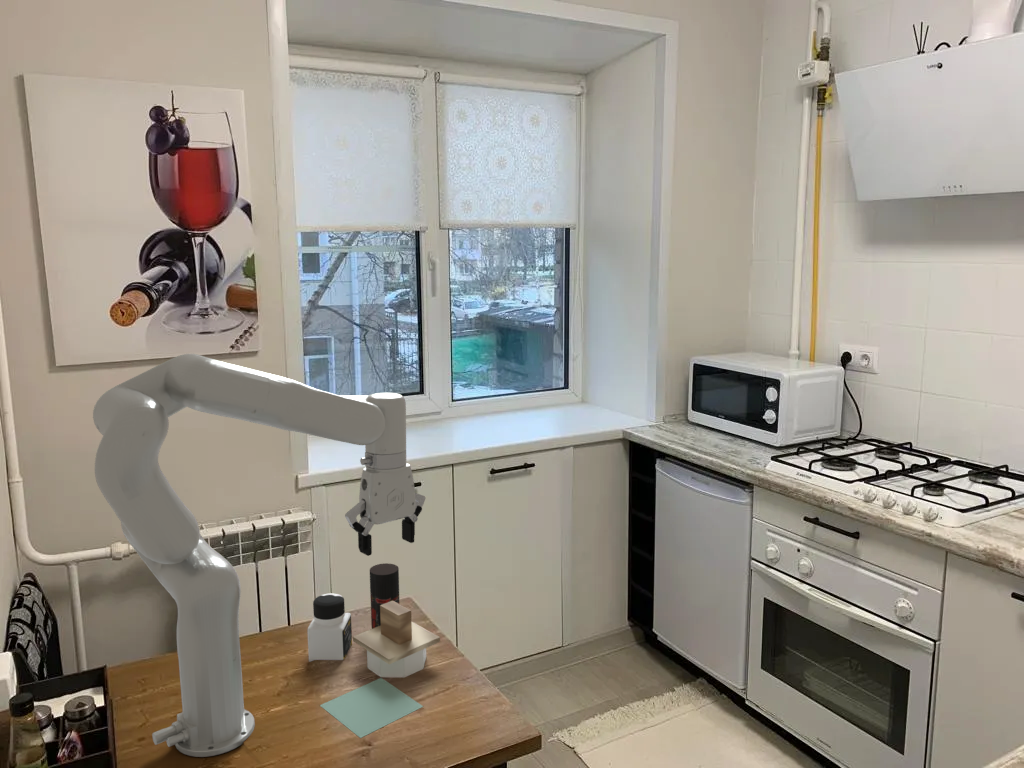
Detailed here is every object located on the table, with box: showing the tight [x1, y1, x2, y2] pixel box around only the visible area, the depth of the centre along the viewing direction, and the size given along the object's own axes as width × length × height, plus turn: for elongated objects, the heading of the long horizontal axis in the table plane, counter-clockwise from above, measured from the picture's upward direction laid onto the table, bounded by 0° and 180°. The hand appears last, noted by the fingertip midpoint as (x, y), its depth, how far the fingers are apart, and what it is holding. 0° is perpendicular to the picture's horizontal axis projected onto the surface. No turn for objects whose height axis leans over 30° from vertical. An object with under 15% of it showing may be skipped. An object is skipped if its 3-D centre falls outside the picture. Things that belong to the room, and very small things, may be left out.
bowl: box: [366, 648, 427, 678], centre depth 152 cm, size 11×11×5 cm
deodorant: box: [369, 562, 401, 629], centre depth 162 cm, size 6×6×15 cm
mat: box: [319, 677, 424, 739], centre depth 138 cm, size 13×13×1 cm
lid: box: [352, 601, 441, 664], centre depth 151 cm, size 12×12×7 cm
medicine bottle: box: [306, 592, 353, 663], centre depth 156 cm, size 7×7×12 cm
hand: (387, 547), depth 148 cm, fingers open, 9 cm apart
